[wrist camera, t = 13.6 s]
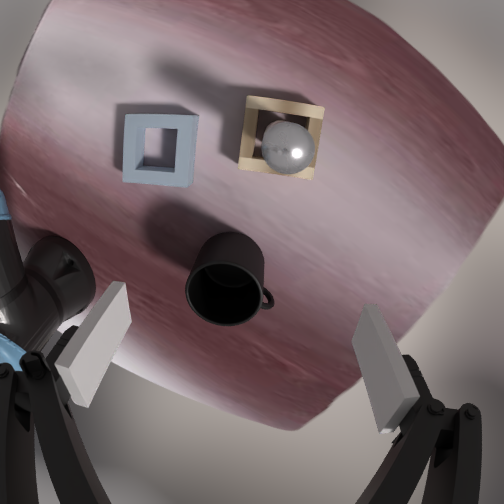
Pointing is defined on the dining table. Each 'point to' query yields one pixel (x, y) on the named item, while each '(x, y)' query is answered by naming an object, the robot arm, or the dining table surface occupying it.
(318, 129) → the block
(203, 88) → the dining table surface
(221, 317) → the mug
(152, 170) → the socket block
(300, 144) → the pin
